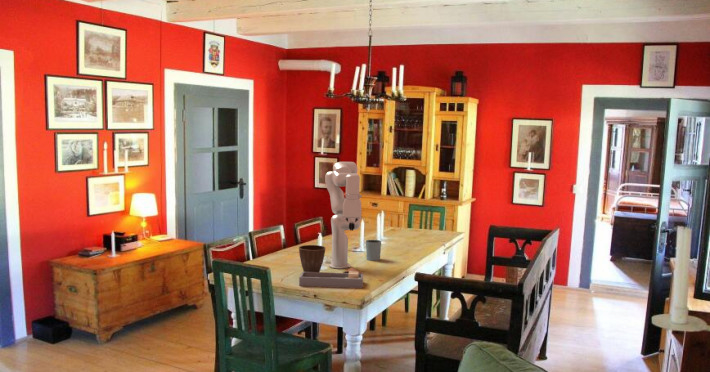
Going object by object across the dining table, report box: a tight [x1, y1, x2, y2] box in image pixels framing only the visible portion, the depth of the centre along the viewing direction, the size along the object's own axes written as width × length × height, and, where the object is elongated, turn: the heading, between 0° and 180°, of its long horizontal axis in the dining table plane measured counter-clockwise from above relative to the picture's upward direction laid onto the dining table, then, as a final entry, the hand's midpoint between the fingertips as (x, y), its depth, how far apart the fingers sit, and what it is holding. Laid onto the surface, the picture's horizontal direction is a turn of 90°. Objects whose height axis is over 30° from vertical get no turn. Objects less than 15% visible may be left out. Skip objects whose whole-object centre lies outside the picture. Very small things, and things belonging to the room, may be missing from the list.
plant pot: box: [298, 244, 326, 272], centre depth 316 cm, size 15×15×16 cm
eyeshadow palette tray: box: [298, 271, 364, 289], centre depth 300 cm, size 12×33×4 cm, turn 88°
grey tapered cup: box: [365, 239, 382, 262], centre depth 360 cm, size 10×10×12 cm
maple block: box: [348, 271, 359, 279], centre depth 298 cm, size 5×5×4 cm
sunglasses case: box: [342, 266, 364, 275], centre depth 317 cm, size 18×7×7 cm
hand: (351, 230), depth 309 cm, fingers closed
